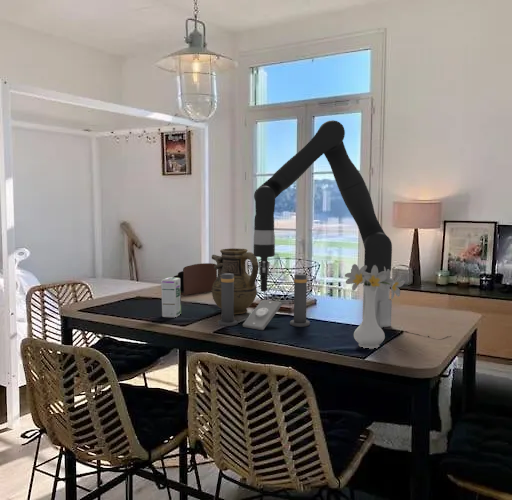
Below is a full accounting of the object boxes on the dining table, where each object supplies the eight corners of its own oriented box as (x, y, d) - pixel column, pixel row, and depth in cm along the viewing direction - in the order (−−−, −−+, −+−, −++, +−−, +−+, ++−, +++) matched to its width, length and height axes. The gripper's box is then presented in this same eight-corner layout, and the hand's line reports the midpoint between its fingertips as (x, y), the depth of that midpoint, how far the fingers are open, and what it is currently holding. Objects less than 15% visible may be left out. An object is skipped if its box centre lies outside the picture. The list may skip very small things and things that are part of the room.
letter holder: (217, 290, 260) (217, 262, 259) (184, 295, 246) (183, 265, 245) (204, 288, 267) (204, 260, 266) (171, 292, 254) (171, 263, 252)
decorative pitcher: (269, 312, 211) (270, 249, 209) (243, 320, 197) (243, 253, 194) (226, 305, 224) (226, 246, 221) (199, 313, 209) (198, 249, 207)
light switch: (241, 322, 187) (261, 297, 196) (245, 335, 190) (265, 309, 199) (261, 325, 182) (281, 299, 192) (266, 338, 185) (285, 312, 195)
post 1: (241, 324, 191) (241, 274, 189) (224, 327, 187) (224, 276, 185) (230, 320, 197) (230, 272, 195) (214, 323, 192) (214, 273, 191)
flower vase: (395, 356, 153) (397, 270, 151) (335, 347, 162) (336, 265, 160) (407, 345, 164) (410, 265, 162) (350, 337, 174) (352, 261, 171)
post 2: (313, 325, 190) (314, 275, 189) (298, 327, 186) (299, 276, 185) (301, 321, 196) (301, 272, 194) (286, 323, 192) (286, 274, 190)
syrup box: (176, 317, 201) (175, 279, 199) (161, 317, 202) (161, 279, 201) (181, 314, 206) (181, 277, 205) (167, 313, 208) (166, 276, 206)
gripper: (275, 244, 182) (274, 294, 184) (274, 241, 195) (274, 288, 197) (253, 244, 182) (252, 294, 184) (254, 241, 195) (253, 287, 197)
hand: (263, 291), depth 190 cm, fingers closed
